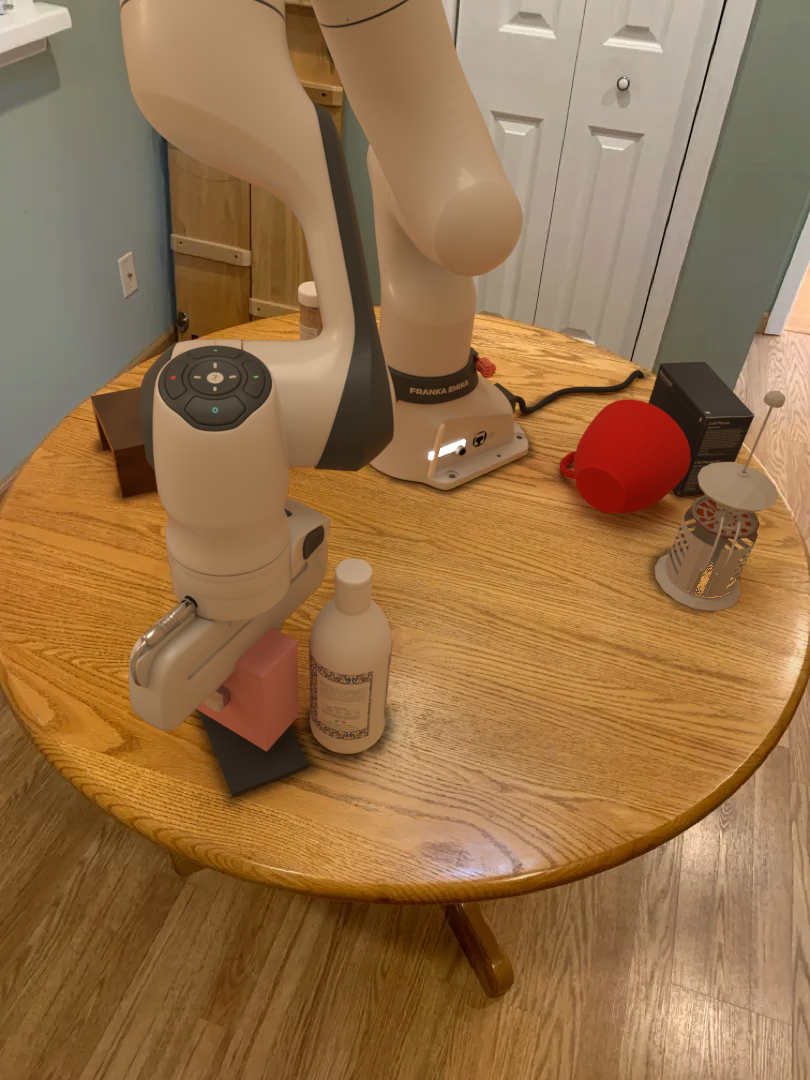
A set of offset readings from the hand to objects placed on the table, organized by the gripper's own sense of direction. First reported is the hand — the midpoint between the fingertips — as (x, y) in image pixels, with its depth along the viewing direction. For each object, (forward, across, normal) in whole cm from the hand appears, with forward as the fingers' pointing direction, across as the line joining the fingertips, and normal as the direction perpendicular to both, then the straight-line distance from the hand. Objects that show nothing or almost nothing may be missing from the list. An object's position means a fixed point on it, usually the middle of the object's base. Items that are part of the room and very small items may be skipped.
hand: (240, 680), depth 72 cm
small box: (+8, +66, -20) cm, 69 cm away
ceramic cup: (+3, +47, -13) cm, 49 cm away
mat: (+8, 0, 0) cm, 8 cm away
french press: (+8, +44, -29) cm, 53 cm away
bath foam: (+8, +6, -7) cm, 12 cm away
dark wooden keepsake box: (+8, +27, +34) cm, 44 cm away
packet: (+4, 0, 0) cm, 4 cm away
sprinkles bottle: (+8, +54, +32) cm, 63 cm away
